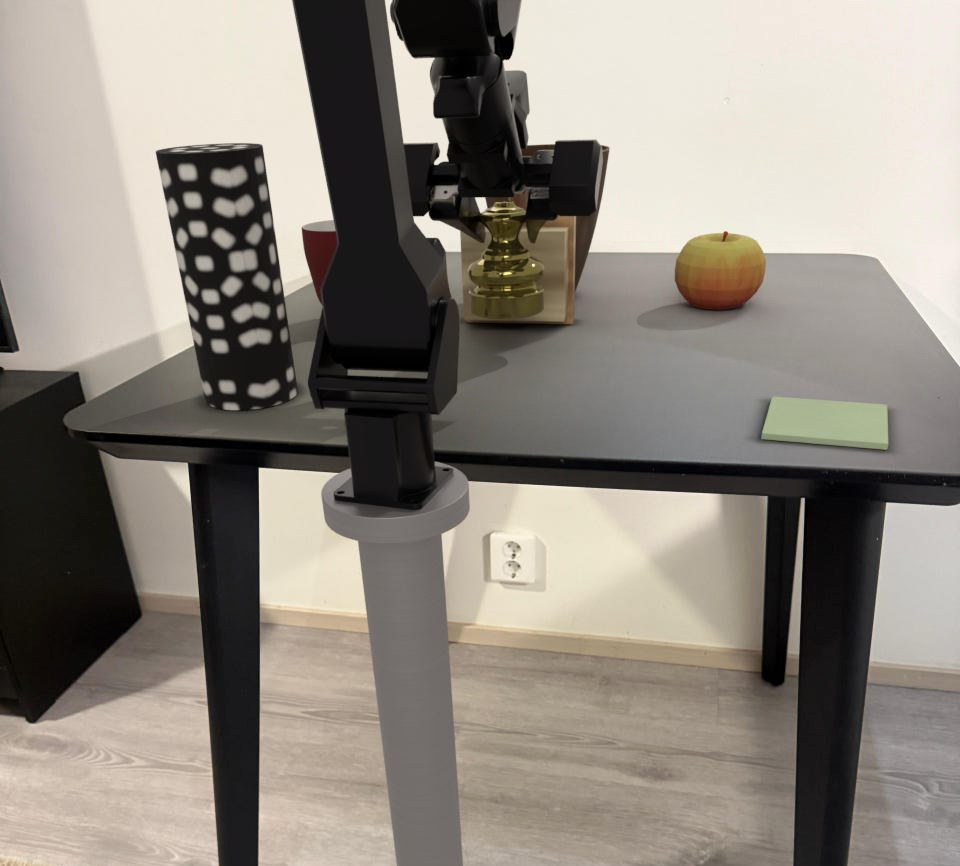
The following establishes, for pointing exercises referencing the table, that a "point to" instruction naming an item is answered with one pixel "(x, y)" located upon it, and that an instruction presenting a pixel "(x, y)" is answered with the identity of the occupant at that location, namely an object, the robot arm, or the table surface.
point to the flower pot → (583, 223)
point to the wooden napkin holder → (551, 250)
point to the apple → (720, 270)
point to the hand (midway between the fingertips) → (508, 239)
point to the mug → (319, 250)
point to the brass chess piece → (506, 269)
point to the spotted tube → (230, 272)
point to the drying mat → (827, 422)
